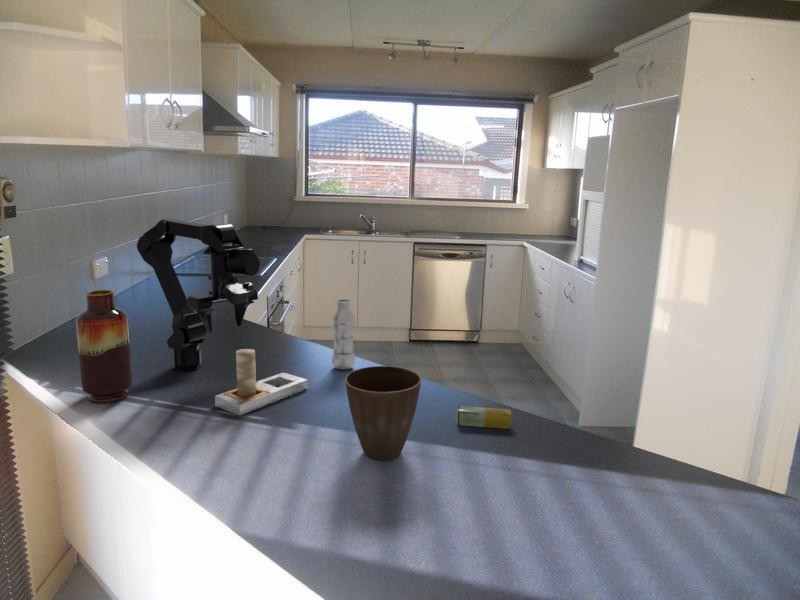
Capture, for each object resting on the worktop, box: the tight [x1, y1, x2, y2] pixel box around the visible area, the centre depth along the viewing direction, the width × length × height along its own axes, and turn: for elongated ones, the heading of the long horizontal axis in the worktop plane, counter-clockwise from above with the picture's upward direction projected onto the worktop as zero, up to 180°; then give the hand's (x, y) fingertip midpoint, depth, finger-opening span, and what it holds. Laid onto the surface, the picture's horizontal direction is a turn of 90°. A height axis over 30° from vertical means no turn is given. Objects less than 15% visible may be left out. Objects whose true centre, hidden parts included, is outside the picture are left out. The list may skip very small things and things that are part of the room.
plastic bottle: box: [331, 298, 356, 370], centre depth 170 cm, size 6×7×20 cm
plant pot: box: [344, 365, 422, 462], centre depth 119 cm, size 15×15×16 cm
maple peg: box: [235, 348, 257, 399], centre depth 144 cm, size 4×4×13 cm
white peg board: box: [214, 372, 309, 416], centre depth 149 cm, size 22×9×3 cm, turn 144°
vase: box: [75, 289, 133, 404], centre depth 144 cm, size 11×11×26 cm
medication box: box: [456, 405, 512, 429], centre depth 136 cm, size 12×3×4 cm, turn 84°
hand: (224, 329), depth 161 cm, fingers open, 9 cm apart
